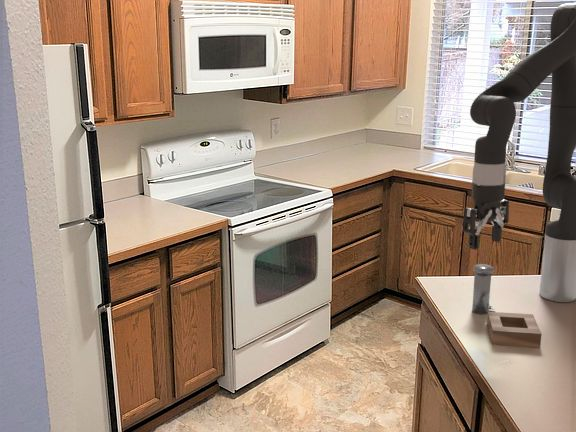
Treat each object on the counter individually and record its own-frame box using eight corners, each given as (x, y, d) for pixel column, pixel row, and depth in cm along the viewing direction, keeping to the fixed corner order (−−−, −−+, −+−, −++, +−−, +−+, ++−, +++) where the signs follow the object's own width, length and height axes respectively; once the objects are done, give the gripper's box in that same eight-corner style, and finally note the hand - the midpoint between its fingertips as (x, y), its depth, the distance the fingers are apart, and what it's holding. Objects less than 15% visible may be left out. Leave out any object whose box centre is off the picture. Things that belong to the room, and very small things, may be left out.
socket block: (486, 324, 150) (487, 311, 149) (531, 327, 148) (533, 314, 147) (491, 344, 140) (493, 330, 139) (540, 347, 138) (541, 333, 137)
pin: (477, 305, 161) (480, 262, 157) (493, 311, 157) (497, 267, 154) (466, 310, 158) (469, 267, 155) (482, 316, 154) (486, 272, 151)
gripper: (494, 173, 153) (490, 235, 157) (456, 182, 145) (453, 247, 150) (520, 178, 147) (516, 242, 152) (482, 188, 139) (478, 255, 144)
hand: (485, 244), depth 151 cm, fingers open, 8 cm apart
